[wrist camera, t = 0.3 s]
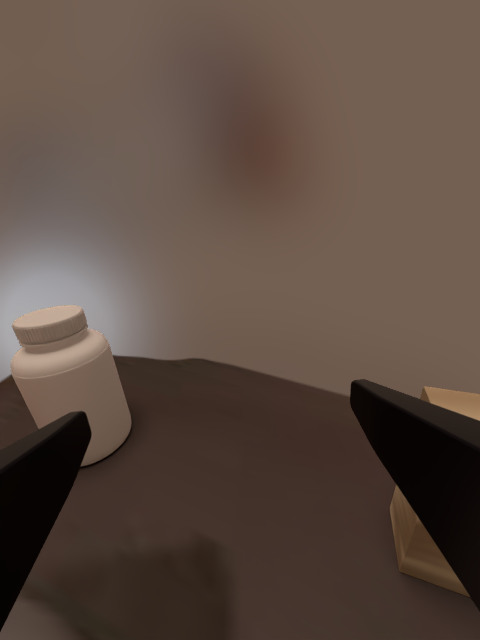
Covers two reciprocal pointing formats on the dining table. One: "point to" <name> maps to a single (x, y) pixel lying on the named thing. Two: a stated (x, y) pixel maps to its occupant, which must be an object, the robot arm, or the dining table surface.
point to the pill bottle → (70, 376)
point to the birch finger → (409, 533)
